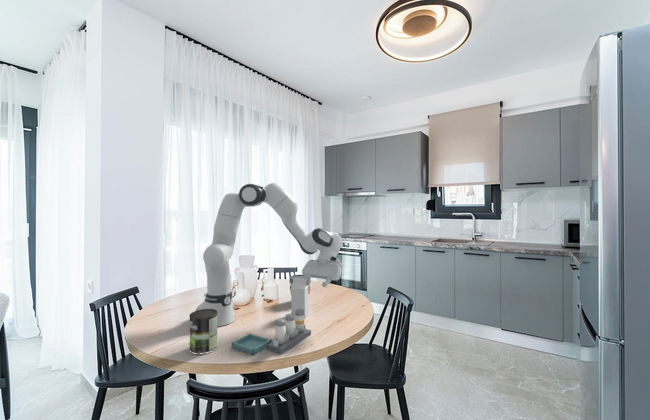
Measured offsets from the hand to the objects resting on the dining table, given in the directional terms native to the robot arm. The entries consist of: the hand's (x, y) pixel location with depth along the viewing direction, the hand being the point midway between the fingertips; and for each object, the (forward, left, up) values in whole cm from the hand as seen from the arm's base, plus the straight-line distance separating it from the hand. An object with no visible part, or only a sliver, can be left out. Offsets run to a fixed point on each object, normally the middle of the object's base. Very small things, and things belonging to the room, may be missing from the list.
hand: (315, 285), depth 137 cm
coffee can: (-26, -41, -19) cm, 52 cm away
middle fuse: (0, -19, -17) cm, 26 cm away
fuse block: (0, -19, -19) cm, 27 cm away
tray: (-11, -30, -19) cm, 37 cm away
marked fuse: (0, -13, -17) cm, 21 cm away
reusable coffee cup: (-27, +25, -19) cm, 42 cm away
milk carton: (-14, +7, -19) cm, 25 cm away
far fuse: (0, -26, -17) cm, 31 cm away
